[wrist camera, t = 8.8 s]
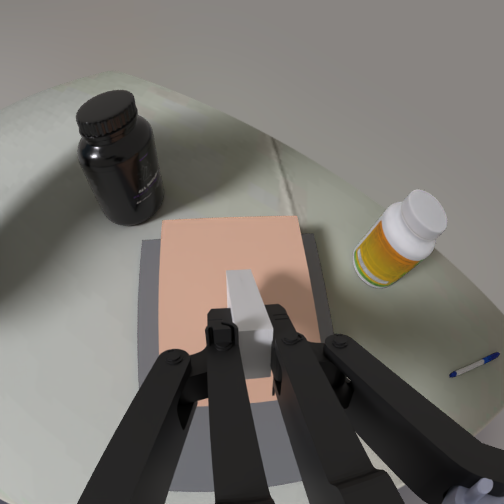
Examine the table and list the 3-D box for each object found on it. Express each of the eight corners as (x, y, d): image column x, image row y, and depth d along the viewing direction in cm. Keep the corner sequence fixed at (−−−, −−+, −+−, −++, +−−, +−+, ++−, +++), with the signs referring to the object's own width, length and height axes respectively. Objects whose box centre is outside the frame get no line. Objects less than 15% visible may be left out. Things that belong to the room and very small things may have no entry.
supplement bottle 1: (166, 222, 26) (142, 121, 15) (102, 233, 25) (51, 144, 14) (164, 171, 29) (149, 76, 18) (107, 181, 28) (74, 94, 17)
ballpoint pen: (495, 350, 23) (500, 348, 22) (496, 357, 22) (501, 355, 21) (447, 373, 21) (454, 372, 21) (448, 381, 21) (454, 380, 20)
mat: (346, 466, 17) (349, 468, 16) (153, 487, 15) (151, 489, 14) (311, 236, 27) (313, 233, 26) (143, 243, 25) (142, 240, 24)
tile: (327, 391, 17) (297, 215, 23) (162, 406, 15) (162, 220, 21) (313, 391, 20) (288, 235, 26) (171, 403, 18) (168, 240, 24)
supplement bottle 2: (387, 299, 24) (451, 254, 16) (343, 271, 25) (395, 213, 17) (401, 258, 27) (455, 207, 18) (361, 232, 28) (406, 170, 19)
